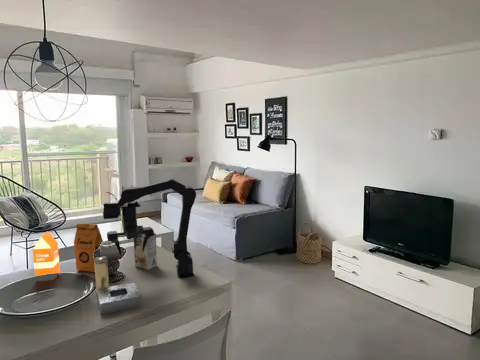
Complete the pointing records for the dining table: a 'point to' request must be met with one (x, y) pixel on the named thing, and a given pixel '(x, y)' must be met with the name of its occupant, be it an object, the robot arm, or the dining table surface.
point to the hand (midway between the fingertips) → (131, 253)
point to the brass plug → (101, 272)
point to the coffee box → (145, 253)
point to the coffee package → (86, 246)
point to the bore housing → (118, 298)
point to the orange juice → (46, 256)
